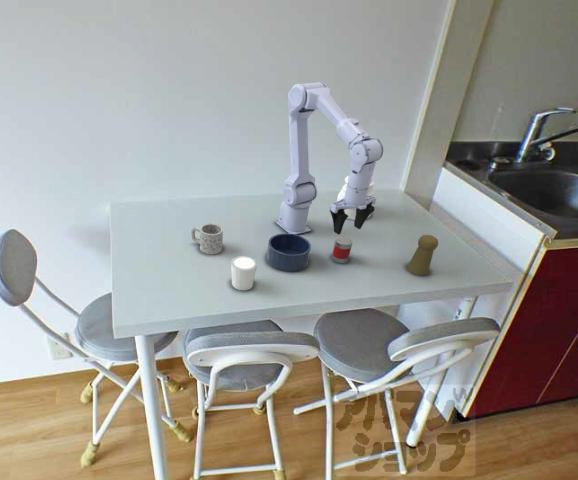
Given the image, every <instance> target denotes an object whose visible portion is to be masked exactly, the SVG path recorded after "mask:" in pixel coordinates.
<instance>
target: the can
mask: <svg viewBox="0 0 578 480" xmlns="http://www.w3.org/2000/svg"><path fill="white" fill-rule="evenodd" d="M352 246H353V240H352V239H351V238H350V237H348V236H345V235H344V236H343V235H342V236H337V237H335V241H334V244H333V249H332V253H331V260H332V262H335V263H337V264H346V263H347V262H348V261H349V258H350V254H351V251H352Z"/></svg>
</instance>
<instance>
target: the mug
mask: <svg viewBox="0 0 578 480" xmlns="http://www.w3.org/2000/svg"><path fill="white" fill-rule="evenodd" d="M196 232H198V233H199V238H197V237H196ZM223 235H224V228H223V227H222V225H219V224H217V223H205V224H203V225H201V226H193V227H192V228H191V240H192V241H194V242H195V243H197V244H198V245H199V250H200V252H202V253H204V254H206V255H217V254H219V253H221V252H222V251H223V238H224V236H223Z"/></svg>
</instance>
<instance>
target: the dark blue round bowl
mask: <svg viewBox="0 0 578 480" xmlns="http://www.w3.org/2000/svg"><path fill="white" fill-rule="evenodd" d="M311 249H312V244H311V243H310V241H309V240H308V239H307V238H305V237H303V236H302V235H300V234H296V235H295V234H289V233H288V232H286V233H285V232H284V233H277V234H275V235H272V236H271V237H269V239H268V243H267V252H266V261H267V263H268V265H270V266H271V267H273V268H274V269H276V270H279V271H282V272H288V273H290V272H292V273H294V272H299V271H302V270H304V269H305V268H306V267H307V266H308V265H309V261H310V255H311Z"/></svg>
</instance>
